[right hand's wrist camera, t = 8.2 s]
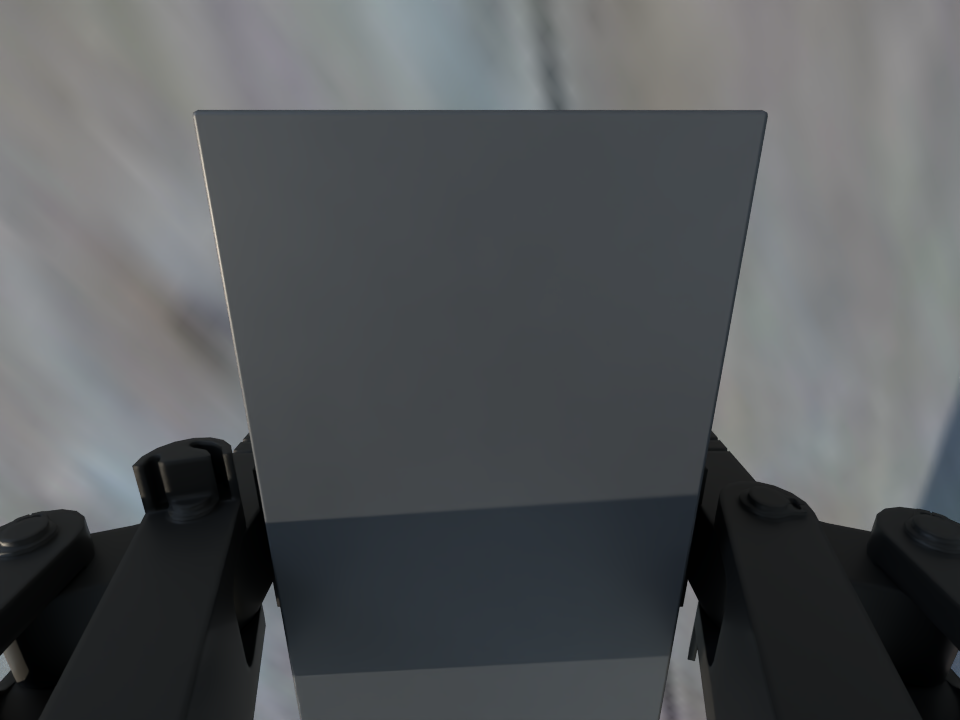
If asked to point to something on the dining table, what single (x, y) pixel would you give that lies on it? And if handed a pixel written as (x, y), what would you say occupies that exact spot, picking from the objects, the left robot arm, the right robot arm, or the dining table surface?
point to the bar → (480, 391)
